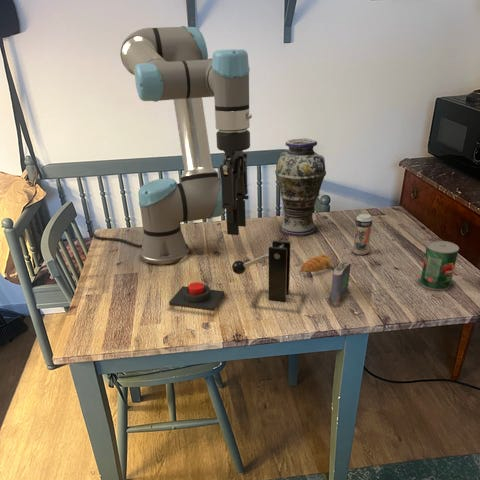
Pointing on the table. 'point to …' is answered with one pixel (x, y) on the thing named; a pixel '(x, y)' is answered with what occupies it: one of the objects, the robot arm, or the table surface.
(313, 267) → the pastry
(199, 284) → the stop button
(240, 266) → the switch lever
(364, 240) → the spice shaker
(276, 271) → the switch bracket
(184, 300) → the stop box
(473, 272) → the table surface
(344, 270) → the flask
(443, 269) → the canned tomato
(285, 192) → the vase
